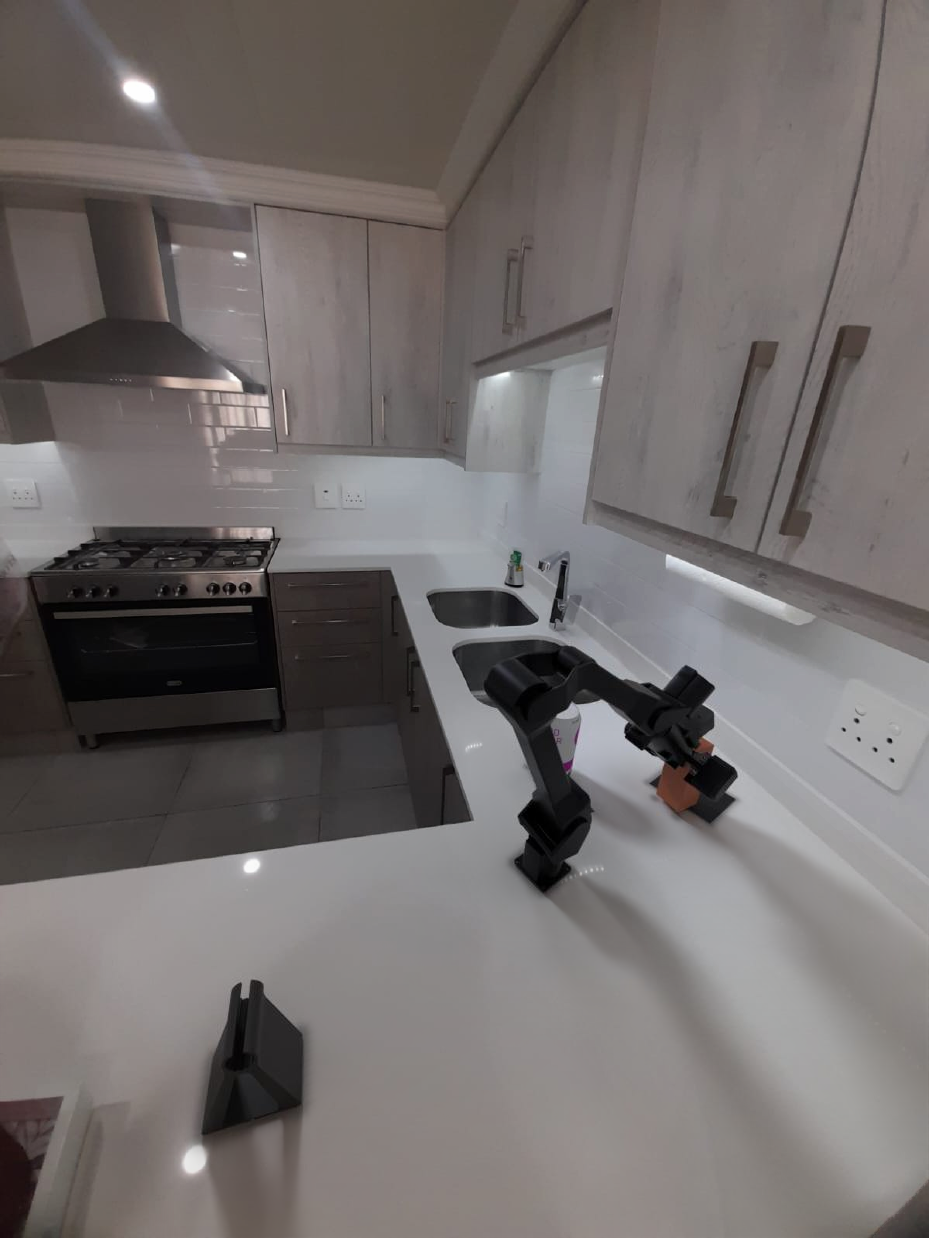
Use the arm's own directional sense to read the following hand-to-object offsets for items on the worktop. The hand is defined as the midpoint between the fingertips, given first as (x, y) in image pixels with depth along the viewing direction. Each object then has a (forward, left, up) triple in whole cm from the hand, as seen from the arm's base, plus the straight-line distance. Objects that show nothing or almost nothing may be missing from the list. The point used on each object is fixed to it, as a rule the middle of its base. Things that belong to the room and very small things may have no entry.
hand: (689, 767), depth 87 cm
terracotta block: (-1, 0, -7) cm, 7 cm away
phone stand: (-75, +5, -8) cm, 75 cm away
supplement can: (-15, +19, -8) cm, 26 cm away
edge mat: (+4, 0, -8) cm, 9 cm away
